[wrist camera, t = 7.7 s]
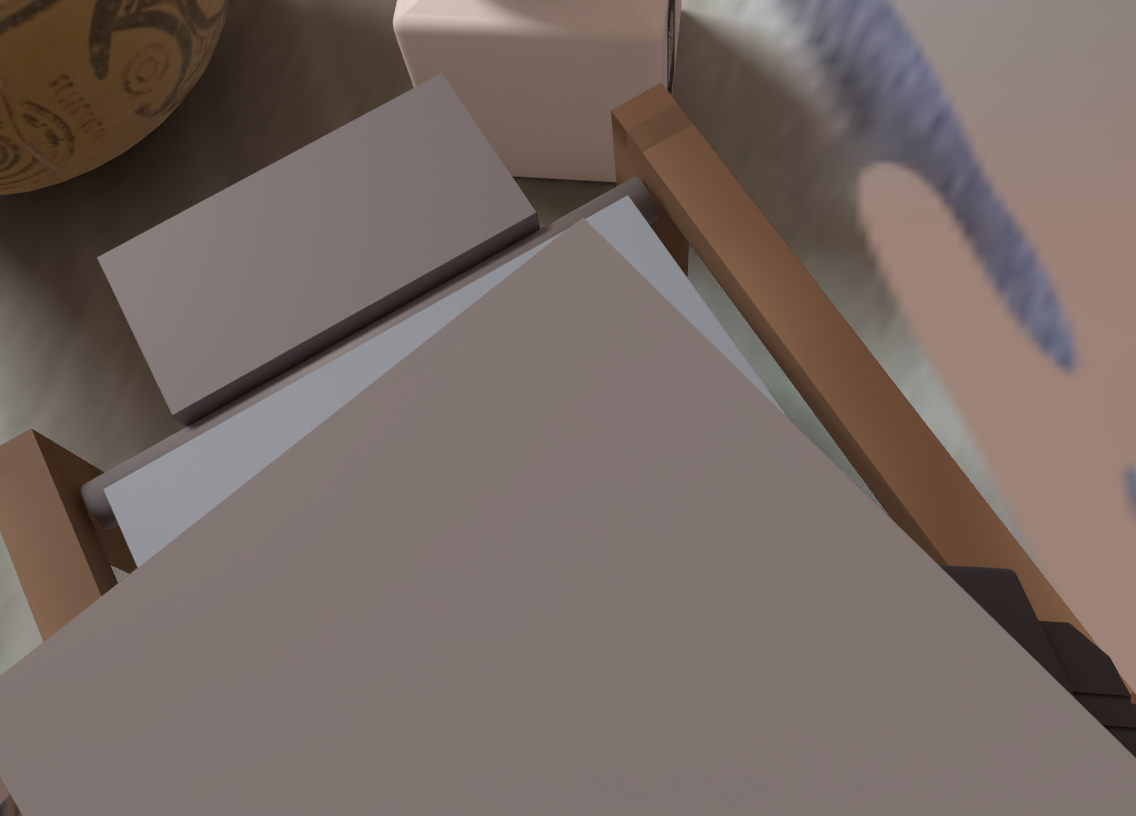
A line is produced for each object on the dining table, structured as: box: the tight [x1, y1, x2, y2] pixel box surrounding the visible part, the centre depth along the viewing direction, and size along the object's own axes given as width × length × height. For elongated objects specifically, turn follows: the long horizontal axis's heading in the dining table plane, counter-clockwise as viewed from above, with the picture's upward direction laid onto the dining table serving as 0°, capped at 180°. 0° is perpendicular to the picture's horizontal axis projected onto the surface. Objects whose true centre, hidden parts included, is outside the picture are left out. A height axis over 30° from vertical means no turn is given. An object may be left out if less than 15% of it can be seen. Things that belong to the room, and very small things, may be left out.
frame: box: [0, 83, 1136, 704], centre depth 25 cm, size 15×15×14 cm
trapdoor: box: [81, 73, 786, 567], centre depth 20 cm, size 12×16×2 cm
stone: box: [0, 217, 1136, 816], centre depth 10 cm, size 4×4×10 cm
